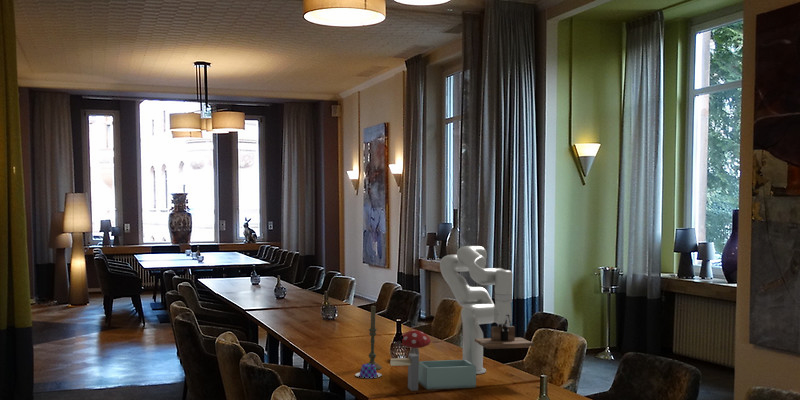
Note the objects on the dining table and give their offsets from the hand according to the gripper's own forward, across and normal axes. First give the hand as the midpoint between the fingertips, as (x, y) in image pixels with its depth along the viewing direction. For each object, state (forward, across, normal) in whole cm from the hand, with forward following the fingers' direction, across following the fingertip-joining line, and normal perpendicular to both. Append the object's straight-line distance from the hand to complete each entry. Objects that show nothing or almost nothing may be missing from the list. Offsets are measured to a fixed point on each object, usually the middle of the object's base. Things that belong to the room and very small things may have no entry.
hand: (502, 339), depth 325 cm
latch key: (+9, +3, -45) cm, 46 cm away
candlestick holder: (+19, -39, -50) cm, 66 cm away
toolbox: (+19, -2, -29) cm, 34 cm away
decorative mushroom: (+19, -54, -25) cm, 63 cm away
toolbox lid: (+3, +1, 0) cm, 3 cm away
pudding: (+20, -24, -55) cm, 63 cm away
